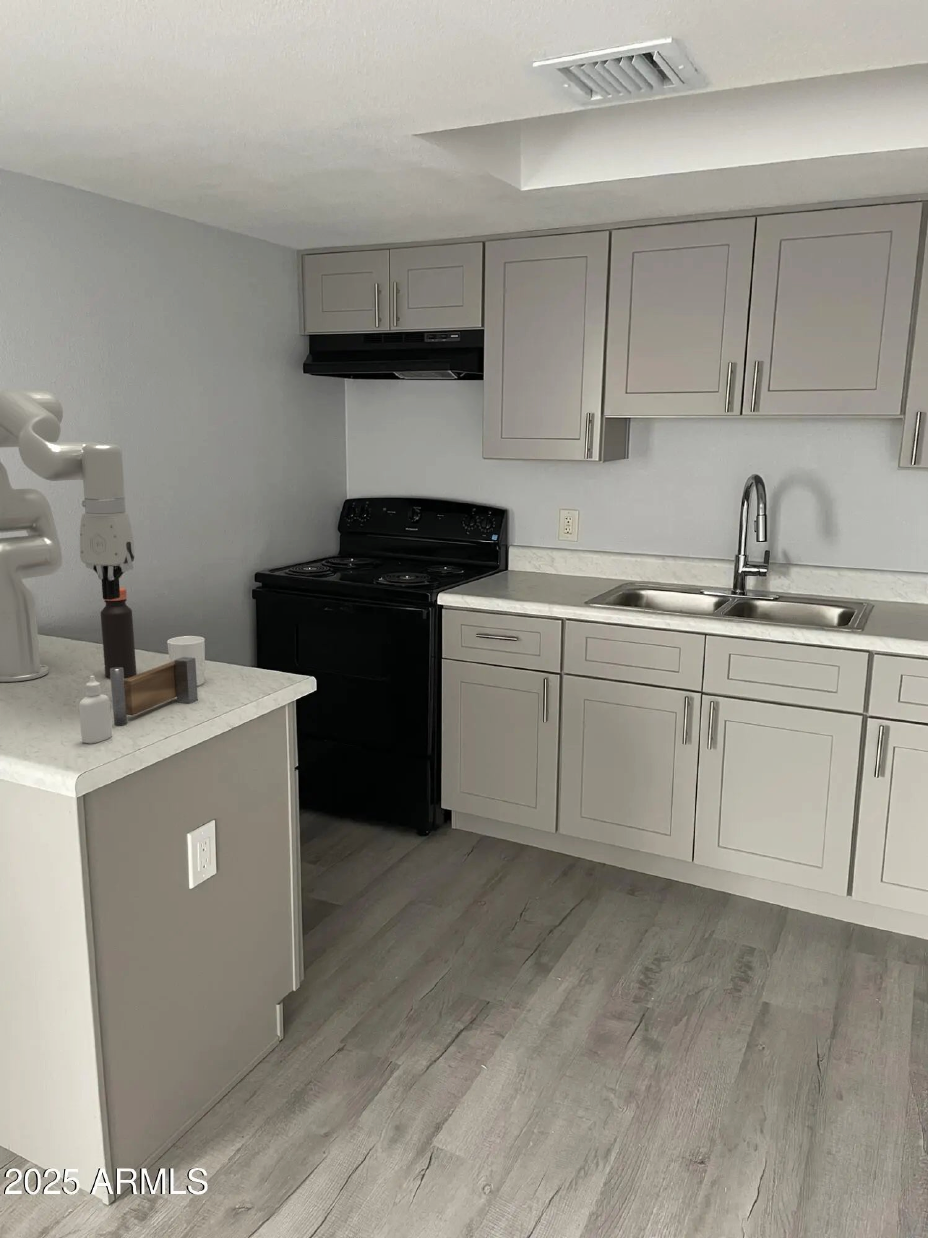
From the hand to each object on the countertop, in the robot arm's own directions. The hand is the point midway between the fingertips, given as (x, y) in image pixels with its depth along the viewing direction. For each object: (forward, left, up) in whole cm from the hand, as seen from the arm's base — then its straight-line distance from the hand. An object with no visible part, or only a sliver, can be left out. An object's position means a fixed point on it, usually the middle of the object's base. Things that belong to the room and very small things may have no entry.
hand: (111, 598), depth 194 cm
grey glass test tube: (+9, -11, -22) cm, 26 cm away
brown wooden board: (+9, 0, -21) cm, 23 cm away
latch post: (+12, +7, -22) cm, 26 cm away
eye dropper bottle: (+11, -20, -23) cm, 32 cm away
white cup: (+4, +18, -23) cm, 29 cm away
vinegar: (-15, +19, -23) cm, 33 cm away
